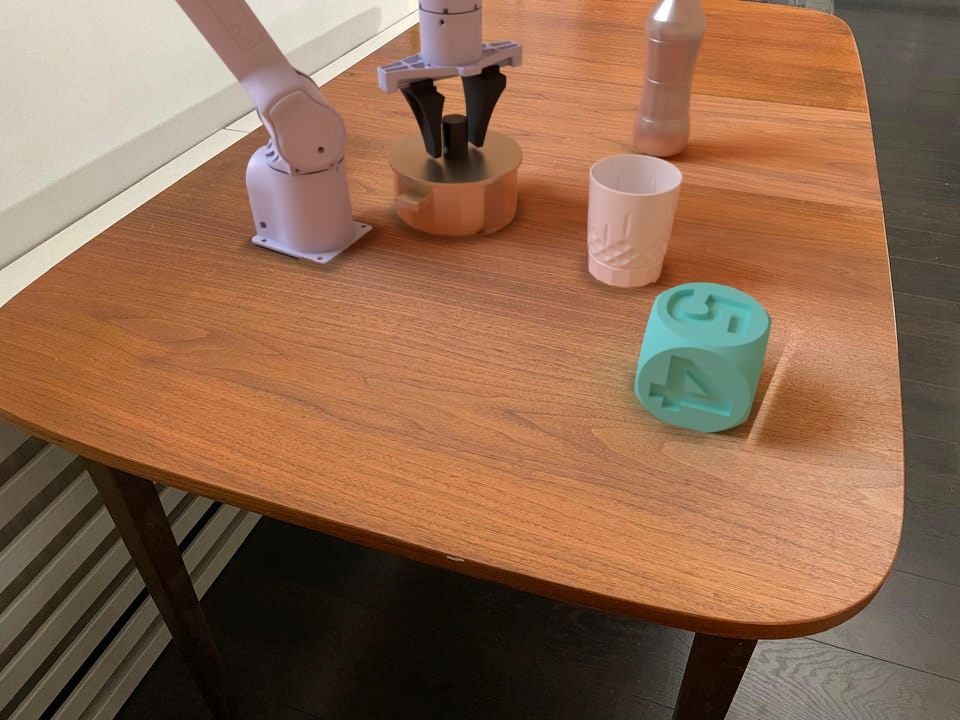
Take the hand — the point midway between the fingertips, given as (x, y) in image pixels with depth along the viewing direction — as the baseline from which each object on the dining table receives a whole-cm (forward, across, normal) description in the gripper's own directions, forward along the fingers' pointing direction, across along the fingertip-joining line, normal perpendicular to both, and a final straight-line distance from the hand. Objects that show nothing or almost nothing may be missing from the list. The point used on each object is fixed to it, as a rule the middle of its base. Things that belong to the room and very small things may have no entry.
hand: (454, 149), depth 77 cm
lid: (+1, 0, 0) cm, 1 cm away
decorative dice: (+7, +1, -35) cm, 36 cm away
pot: (+7, 0, 0) cm, 7 cm away
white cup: (+7, +7, -19) cm, 21 cm away
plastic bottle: (+7, +28, 0) cm, 29 cm away
